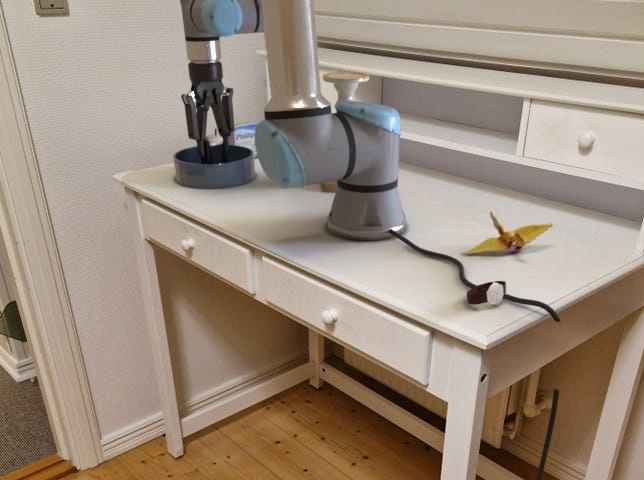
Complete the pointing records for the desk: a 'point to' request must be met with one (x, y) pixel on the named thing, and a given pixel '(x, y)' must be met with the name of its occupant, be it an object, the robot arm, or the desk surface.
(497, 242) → the origami crane
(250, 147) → the medicine box
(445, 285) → the desk surface
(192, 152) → the bowl
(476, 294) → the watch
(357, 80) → the candle holder
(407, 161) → the desk surface
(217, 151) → the milkshake
